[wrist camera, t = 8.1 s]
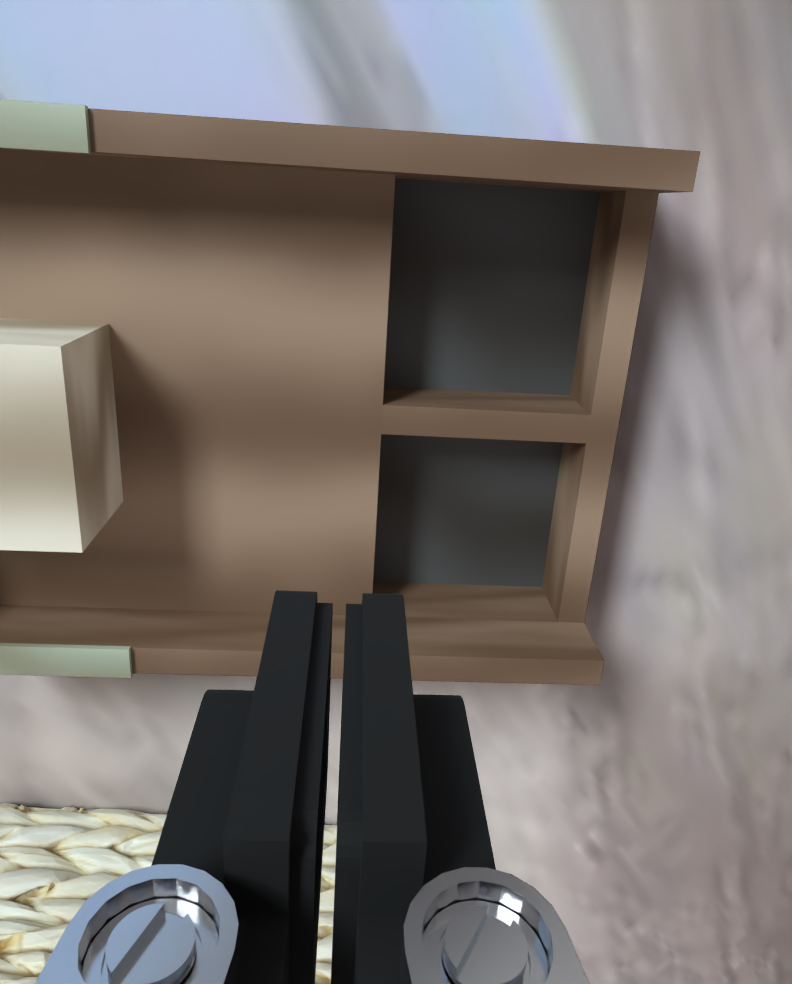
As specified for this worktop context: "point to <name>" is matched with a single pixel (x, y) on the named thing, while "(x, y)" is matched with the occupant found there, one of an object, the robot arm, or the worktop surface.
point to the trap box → (330, 382)
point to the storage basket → (90, 877)
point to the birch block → (56, 435)
